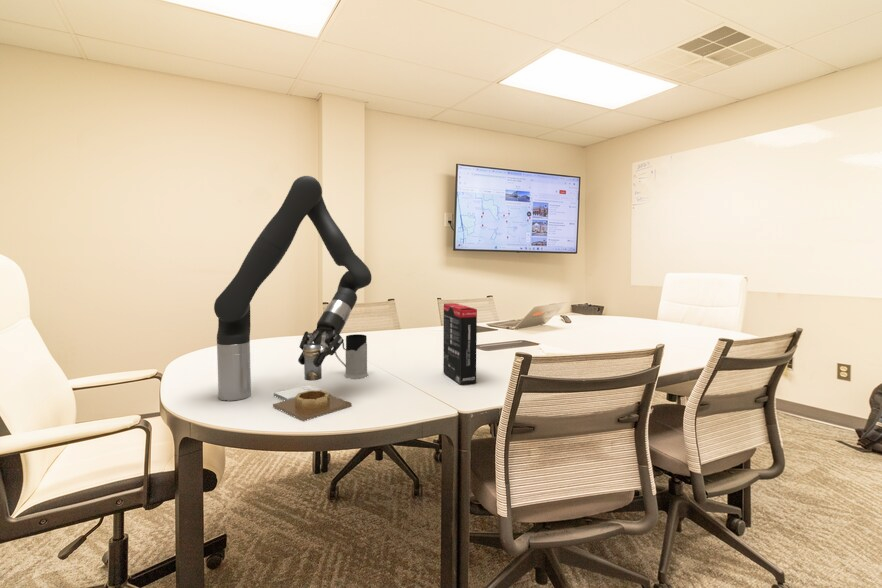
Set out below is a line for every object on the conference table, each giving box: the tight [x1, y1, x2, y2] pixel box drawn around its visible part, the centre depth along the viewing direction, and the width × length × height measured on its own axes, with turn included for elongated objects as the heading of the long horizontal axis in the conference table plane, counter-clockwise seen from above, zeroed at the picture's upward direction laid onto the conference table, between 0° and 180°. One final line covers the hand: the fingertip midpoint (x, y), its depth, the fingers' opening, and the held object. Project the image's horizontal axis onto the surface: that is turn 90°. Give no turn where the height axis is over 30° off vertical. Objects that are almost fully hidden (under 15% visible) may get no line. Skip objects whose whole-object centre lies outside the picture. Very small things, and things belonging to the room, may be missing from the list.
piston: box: [302, 342, 323, 382], centre depth 126 cm, size 5×5×10 cm
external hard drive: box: [273, 384, 323, 401], centre depth 138 cm, size 2×8×12 cm
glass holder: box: [332, 333, 369, 380], centre depth 161 cm, size 9×14×15 cm, turn 71°
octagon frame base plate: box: [272, 389, 353, 422], centre depth 127 cm, size 16×16×4 cm
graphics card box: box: [442, 302, 478, 386], centre depth 158 cm, size 17×7×27 cm, turn 22°
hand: (308, 364), depth 124 cm, fingers closed on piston, 5 cm apart
